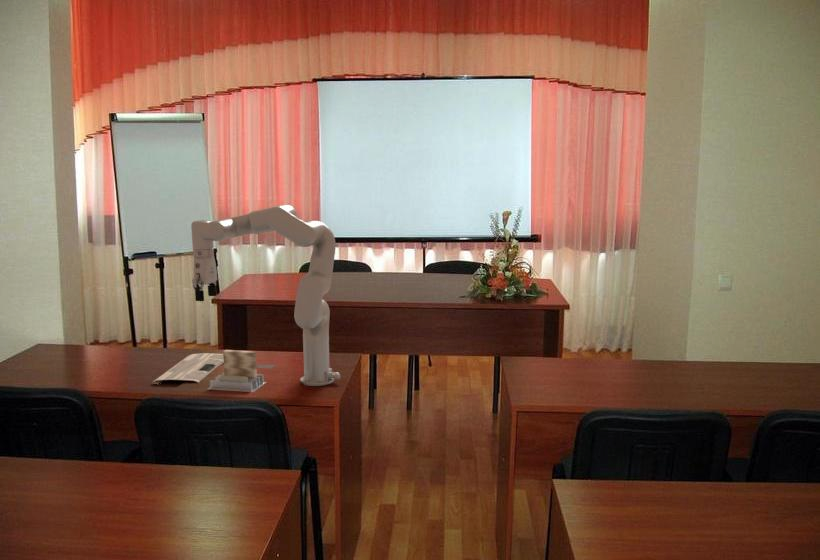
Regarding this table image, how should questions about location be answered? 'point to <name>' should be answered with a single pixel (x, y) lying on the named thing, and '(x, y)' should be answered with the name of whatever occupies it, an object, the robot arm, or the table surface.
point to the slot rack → (238, 384)
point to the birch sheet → (240, 363)
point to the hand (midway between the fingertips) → (206, 298)
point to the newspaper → (192, 368)
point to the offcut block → (233, 378)
